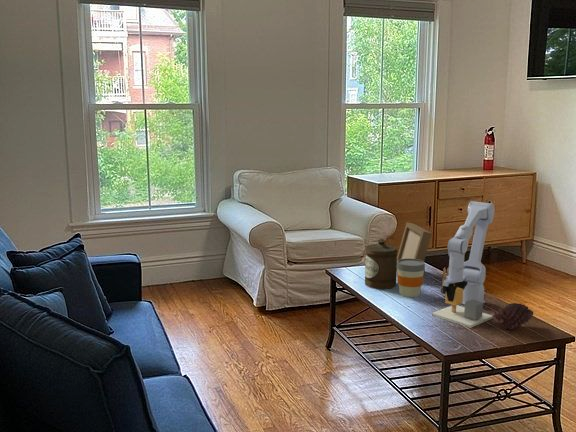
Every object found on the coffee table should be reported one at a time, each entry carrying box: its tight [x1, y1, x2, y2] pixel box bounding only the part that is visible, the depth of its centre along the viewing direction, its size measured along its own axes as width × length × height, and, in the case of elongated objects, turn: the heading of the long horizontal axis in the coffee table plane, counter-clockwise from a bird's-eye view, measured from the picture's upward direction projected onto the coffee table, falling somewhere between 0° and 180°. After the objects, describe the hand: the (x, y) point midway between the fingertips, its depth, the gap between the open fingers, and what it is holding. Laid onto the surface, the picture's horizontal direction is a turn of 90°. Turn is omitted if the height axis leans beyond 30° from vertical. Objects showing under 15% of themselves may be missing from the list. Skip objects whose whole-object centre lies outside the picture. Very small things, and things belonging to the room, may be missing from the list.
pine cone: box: [493, 302, 534, 330], centre depth 235 cm, size 18×10×10 cm, turn 110°
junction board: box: [431, 300, 494, 329], centre depth 247 cm, size 16×18×8 cm
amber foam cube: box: [444, 287, 464, 306], centre depth 249 cm, size 5×5×6 cm
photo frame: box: [397, 222, 433, 275], centre depth 302 cm, size 15×22×25 cm
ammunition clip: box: [440, 266, 455, 295], centre depth 278 cm, size 11×2×12 cm, turn 104°
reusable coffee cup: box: [396, 258, 426, 298], centre depth 275 cm, size 13×13×15 cm
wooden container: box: [364, 238, 398, 290], centre depth 288 cm, size 15×15×22 cm
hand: (454, 299), depth 250 cm, fingers closed on amber foam cube, 5 cm apart
